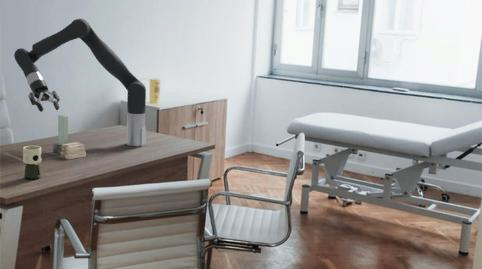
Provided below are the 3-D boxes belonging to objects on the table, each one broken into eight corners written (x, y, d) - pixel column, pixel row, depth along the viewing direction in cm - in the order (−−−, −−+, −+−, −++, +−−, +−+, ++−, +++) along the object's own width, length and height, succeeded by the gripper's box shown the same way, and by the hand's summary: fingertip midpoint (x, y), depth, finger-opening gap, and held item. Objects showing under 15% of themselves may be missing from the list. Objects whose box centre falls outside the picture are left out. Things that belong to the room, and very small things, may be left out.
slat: (58, 151, 282) (58, 115, 278) (61, 151, 283) (61, 114, 279) (64, 154, 278) (64, 116, 275) (67, 153, 280) (68, 116, 276)
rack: (44, 153, 280) (44, 140, 279) (66, 150, 289) (66, 137, 288) (66, 161, 269) (66, 147, 268) (88, 158, 278) (88, 144, 277)
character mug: (31, 182, 236) (31, 151, 234) (16, 180, 238) (16, 149, 236) (48, 175, 246) (47, 145, 244) (33, 173, 249) (33, 143, 246)
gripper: (26, 79, 281) (39, 106, 276) (52, 78, 291) (66, 104, 287) (20, 88, 285) (33, 115, 280) (46, 87, 296) (59, 113, 291)
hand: (50, 110), depth 284 cm, fingers open, 8 cm apart
